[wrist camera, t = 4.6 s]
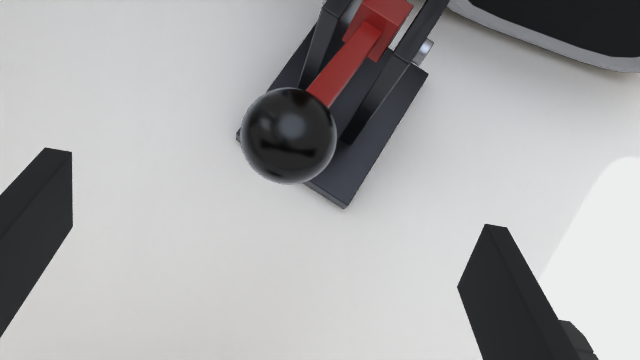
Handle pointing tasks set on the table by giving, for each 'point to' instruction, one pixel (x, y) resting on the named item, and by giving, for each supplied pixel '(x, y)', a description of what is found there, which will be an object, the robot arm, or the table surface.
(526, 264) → the robot arm
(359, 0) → the toggle clamp
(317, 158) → the clamp lever
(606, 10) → the alarm clock
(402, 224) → the table surface
